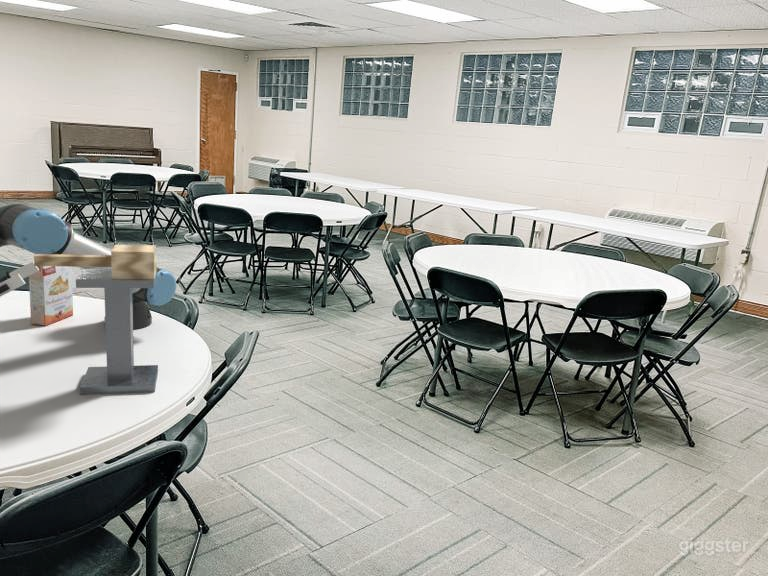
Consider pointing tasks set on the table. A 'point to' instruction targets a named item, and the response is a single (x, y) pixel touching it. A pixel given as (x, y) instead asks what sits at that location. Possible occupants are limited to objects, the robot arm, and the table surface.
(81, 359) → the table surface
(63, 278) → the cracker box
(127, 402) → the table surface
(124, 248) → the mallet
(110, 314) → the stand
